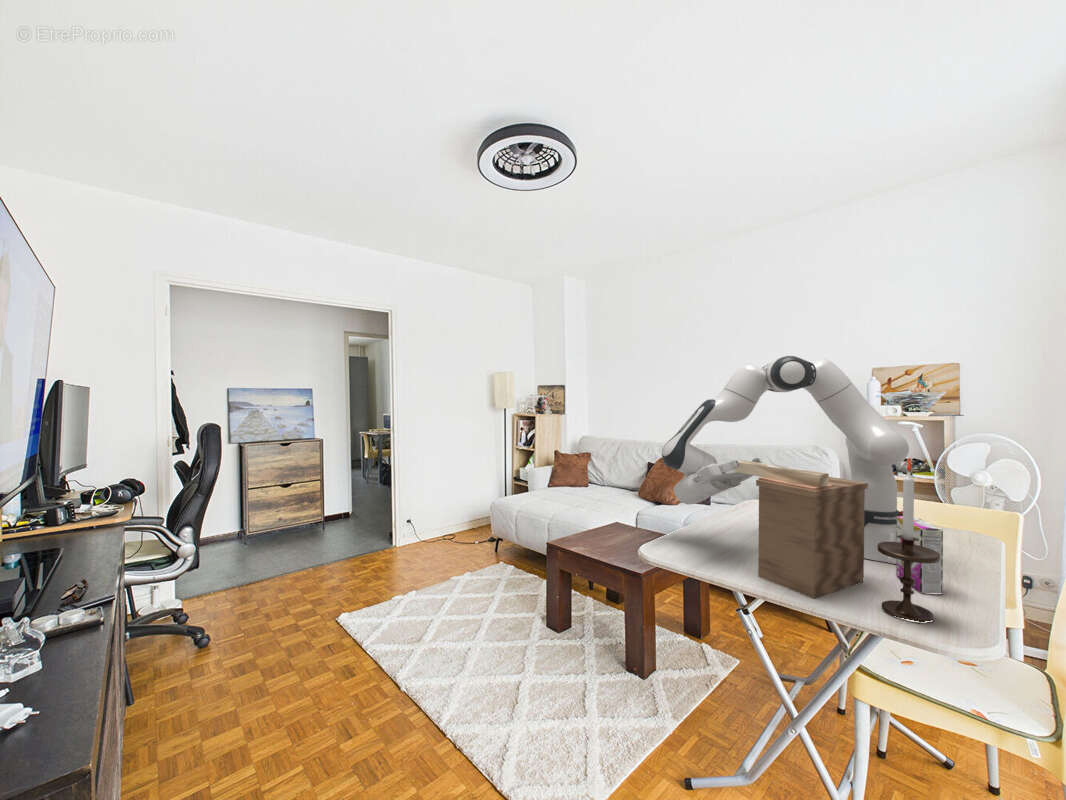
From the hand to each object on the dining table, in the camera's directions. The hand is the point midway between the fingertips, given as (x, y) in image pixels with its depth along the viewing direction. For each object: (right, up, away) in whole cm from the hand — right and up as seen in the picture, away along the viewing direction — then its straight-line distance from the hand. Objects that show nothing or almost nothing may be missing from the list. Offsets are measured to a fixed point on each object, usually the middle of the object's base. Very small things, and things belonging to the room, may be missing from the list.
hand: (748, 461), depth 132 cm
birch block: (+4, -3, -8) cm, 10 cm away
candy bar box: (+37, -30, -14) cm, 50 cm away
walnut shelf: (+12, -30, -9) cm, 34 cm away
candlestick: (+22, -30, -28) cm, 47 cm away
